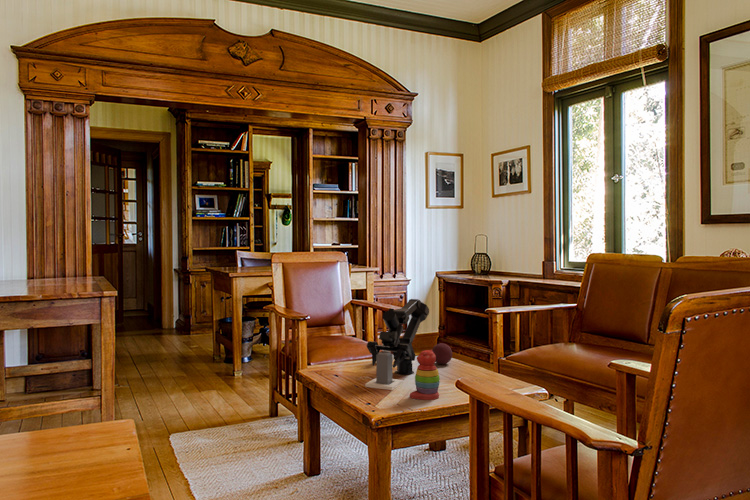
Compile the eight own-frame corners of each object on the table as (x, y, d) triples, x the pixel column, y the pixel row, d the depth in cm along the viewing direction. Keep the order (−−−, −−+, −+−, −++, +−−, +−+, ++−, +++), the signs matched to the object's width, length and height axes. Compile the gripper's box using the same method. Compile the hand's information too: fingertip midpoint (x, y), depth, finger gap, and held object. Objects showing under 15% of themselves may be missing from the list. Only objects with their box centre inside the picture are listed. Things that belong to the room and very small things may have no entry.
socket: (365, 386, 223) (365, 383, 223) (377, 379, 234) (377, 377, 234) (392, 390, 218) (392, 387, 218) (403, 382, 229) (403, 380, 228)
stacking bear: (423, 391, 216) (423, 346, 216) (445, 395, 210) (445, 349, 209) (407, 397, 208) (407, 350, 208) (429, 402, 201) (429, 354, 201)
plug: (376, 385, 224) (376, 352, 224) (381, 382, 229) (381, 350, 229) (387, 386, 222) (387, 354, 222) (392, 383, 227) (392, 351, 227)
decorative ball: (453, 366, 258) (453, 345, 258) (432, 366, 258) (432, 345, 258) (450, 361, 268) (450, 341, 268) (430, 361, 268) (430, 341, 268)
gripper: (368, 322, 233) (356, 353, 223) (408, 325, 225) (398, 357, 215) (376, 337, 240) (365, 368, 230) (415, 340, 232) (406, 372, 222)
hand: (383, 366), depth 224 cm, fingers open, 9 cm apart
